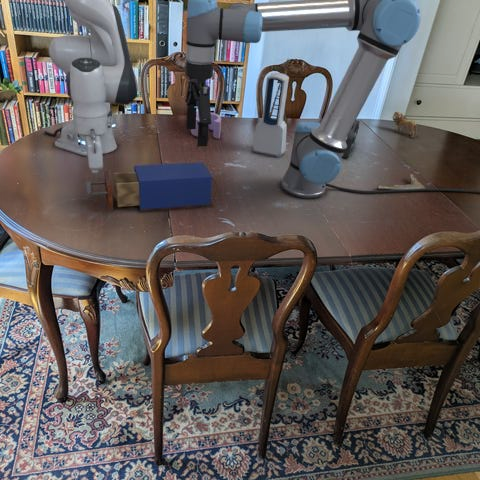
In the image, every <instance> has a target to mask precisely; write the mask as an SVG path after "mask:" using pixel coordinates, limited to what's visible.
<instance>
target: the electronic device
mask: <svg viewBox="0 0 480 480" xmlns="http://www.w3.org/2000/svg"><path fill="white" fill-rule="evenodd" d="M275 81H277V82H278V81H280V82H281V84H280V87H281V89H279V95H278V96H279V97H278V98H279V99H278V103H277V105H278V106H277V109H278V110H277V112H276V116H277V117H276V119H275V118H272V117H271V118H270V117H269V116H270V112H271V108H272V99H273V93H274V92H273V91H274V82H275ZM288 81H289V82H290V76H288V75H287V74H286V75H285V73H283V72H282V73H281V72H275V73H271V74H269V75H268V76H267V77H266V83H265V91H264V98H263V99H264V100H263V106H262V107H263V108H262V115H261V119H260V120H259V121H258V122H257V123H256V126H255V129H254V134H253V139H252V142H251V150H252V151H253V152H254V153H256V154H261V155H266V156H272V157H275V158H280V157H281V156H283V154H284V153H285V152H286V150H287V149H286V148H287V130H288V124H287V122H286V123H285V122H284V121H283V116H284V109H285V110H286V108H285V106H286V101H287V95H288V87H289V82H288Z"/></svg>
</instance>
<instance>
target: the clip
mask: <svg viewBox="0 0 480 480" xmlns="http://www.w3.org/2000/svg"><path fill="white" fill-rule="evenodd" d="M204 120H206V119H204ZM197 122H200V121H199V114H198V111H196V129H190V134H191V135H193V136H195V137H197V138H198V125H197ZM208 130H211V131H213V132H212V137H213V138H215V139H218V140H219V139H221V131H222V116H221V115H219V114H217V113H215V112H211V124H209V126H208Z"/></svg>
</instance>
